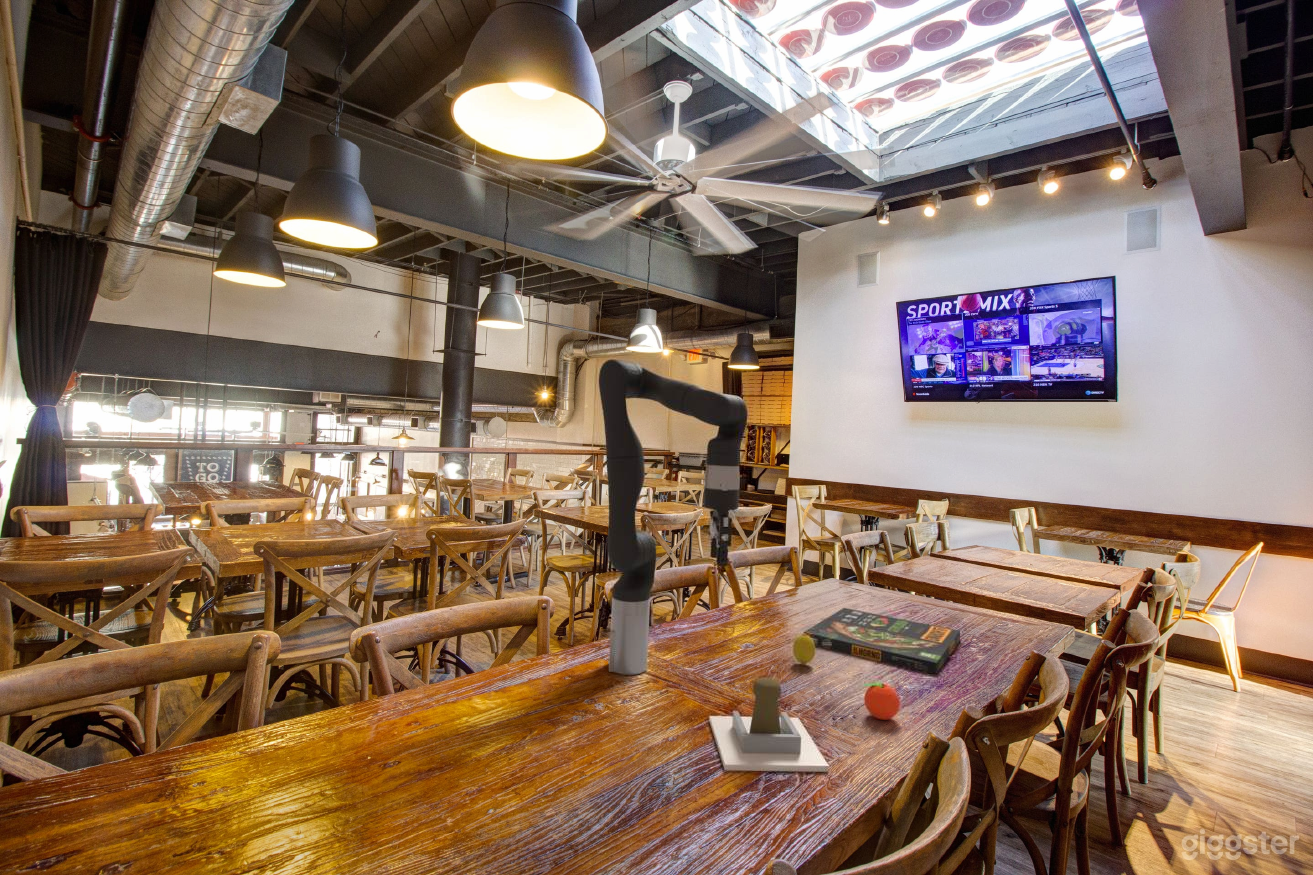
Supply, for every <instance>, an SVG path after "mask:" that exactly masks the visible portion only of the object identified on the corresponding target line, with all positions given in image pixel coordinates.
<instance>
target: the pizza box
mask: <svg viewBox="0 0 1313 875" xmlns="http://www.w3.org/2000/svg"><path fill="white" fill-rule="evenodd" d="M804 633H805V634H806V635H808V636H809V637H811V638H812V640H813V641H814V644H815V647H820V648H825V649H828V650H833V651H836V652H841V653H845V654H849V655H853V656H857V657H861V658H865V659H868V660H869V659H870V660H874V661H878V662H883V663H887V664H890V665H895V666H898V667H903V668H907V669H910V670H911V669H912V670H914V671H920V672H924V673H928V674H932V675H937V674H938V673H939V671H940V670H941V668H942V667H943V665H944V664H945V662H946V661H947V660H948V659H949V657H950V655H952V652H953V651H954V650H955V648H956V647H957V646H958V644H959V643H960V641H961V630H957V629H952V628H948V627H943V626H938V625H932V624H927V623H923V622H918V621H912V620H908V619H901V618H897V617H892V616H887V615H882V614H878V613H872V612H866V611H862V610H857V609H852V608H846V607H842V608H841V609H840V610H838V611H836V612H835V613H833V614H831V615H830V616H828V617H826V618H825V619H823V620H821V621H820V622H817V623H816V624H815V625H813V626H811V627H810V628H808V629H806V630H804V631H803V634H804Z"/></svg>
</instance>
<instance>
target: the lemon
mask: <svg viewBox="0 0 1313 875" xmlns="http://www.w3.org/2000/svg"><path fill="white" fill-rule="evenodd" d="M792 652H793V653H792V654H793V657H794V658H795V660H796V661H797V662H800V664H801V665H803V666H805V665H806V664H808V663H810V662H812V661H813V660H814V658H815V655H816V646H815V644H814V641H813V640H812V638H811V637H809V636H808V635H806V634H805V633H804V632H803V633H802V634H799V635H798V636H796V637H795V639H794V641H793V645H792Z"/></svg>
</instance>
